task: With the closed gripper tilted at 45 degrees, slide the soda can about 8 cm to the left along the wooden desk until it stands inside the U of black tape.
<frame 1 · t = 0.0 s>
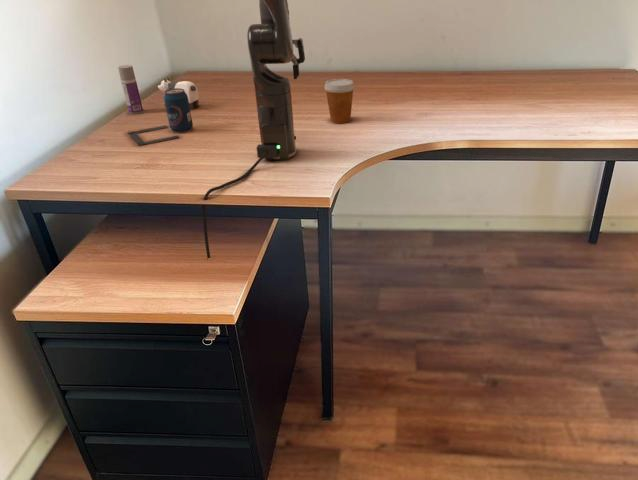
hand: (280, 78, 153), 17 cm above the table, tool pointing down, fingers open, 8 cm apart
container: (136, 112, 187), on the table
soda can: (182, 130, 170), on the table
disposable coffee cup: (340, 121, 176), on the table
giant panda: (182, 107, 192), on the table
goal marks: (156, 134, 167), on the table
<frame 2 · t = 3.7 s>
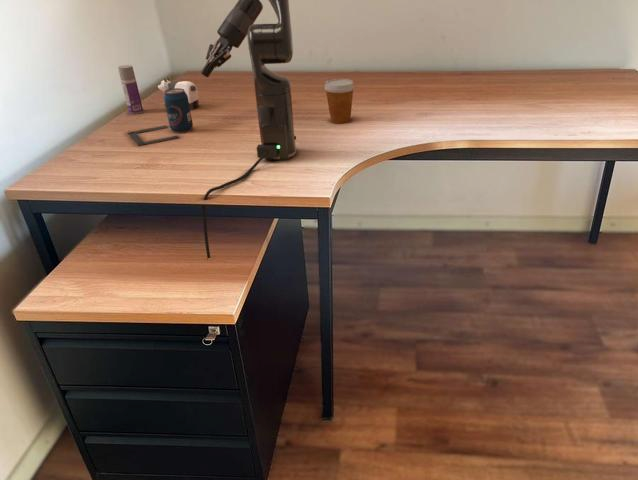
hand: (204, 75, 166), 15 cm above the table, tool tilted 45°, fingers closed
nothing on the table moved.
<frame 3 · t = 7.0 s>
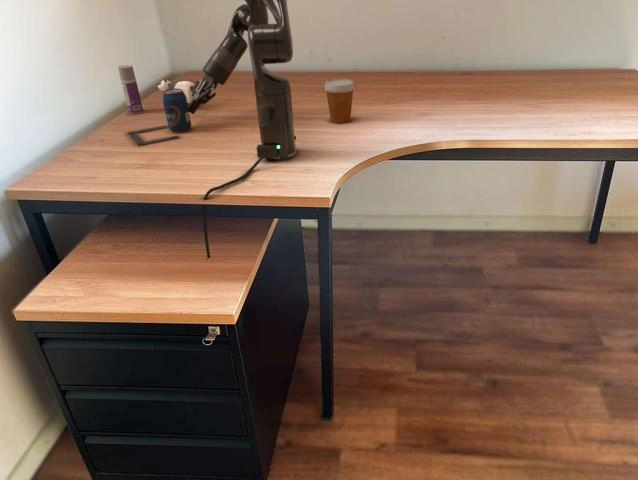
hand: (189, 112, 169), 5 cm above the table, tool tilted 45°, fingers closed
soda can: (180, 130, 170), on the table, touching gripper
everything else where it was.
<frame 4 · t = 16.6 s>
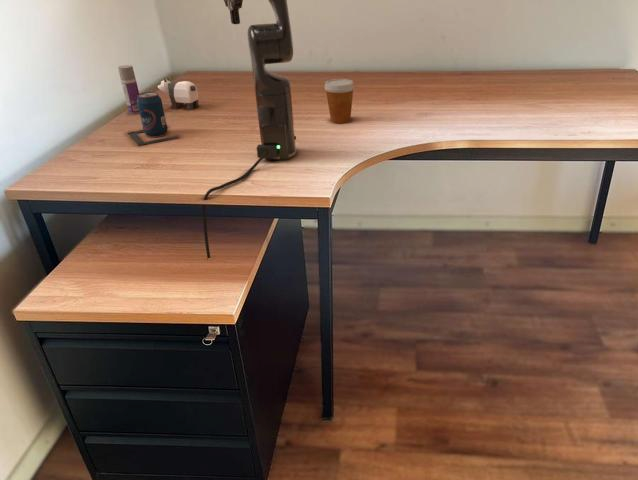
hand: (235, 23, 161), 29 cm above the table, tool pointing down, fingers closed
soda can: (156, 134, 167), on the table
everything else where it was.
at the end: soda can 0.7 cm off-centre on the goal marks, point 0.0 cm above the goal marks's base; soda can tilted 0°; the gripper is holding nothing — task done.
